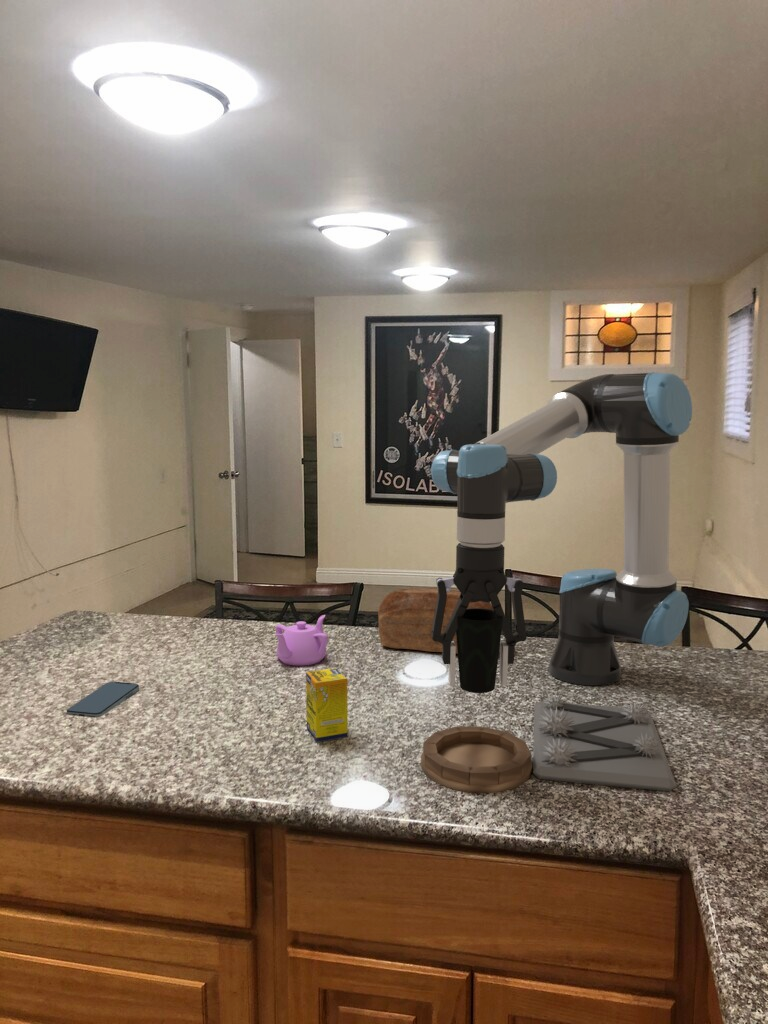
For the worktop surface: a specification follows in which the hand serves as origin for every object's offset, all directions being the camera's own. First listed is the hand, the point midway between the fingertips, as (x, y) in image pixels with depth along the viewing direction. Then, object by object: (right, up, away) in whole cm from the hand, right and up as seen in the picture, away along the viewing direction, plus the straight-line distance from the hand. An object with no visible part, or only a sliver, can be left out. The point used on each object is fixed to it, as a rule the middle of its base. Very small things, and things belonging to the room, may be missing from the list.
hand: (477, 682), depth 125 cm
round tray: (0, -14, +2) cm, 14 cm away
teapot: (-34, -7, +55) cm, 65 cm away
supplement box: (-25, -12, +14) cm, 32 cm away
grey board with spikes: (+22, -14, +9) cm, 27 cm away
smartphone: (-71, -11, +29) cm, 77 cm away
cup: (0, -1, 0) cm, 1 cm away
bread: (-2, -6, +63) cm, 64 cm away
